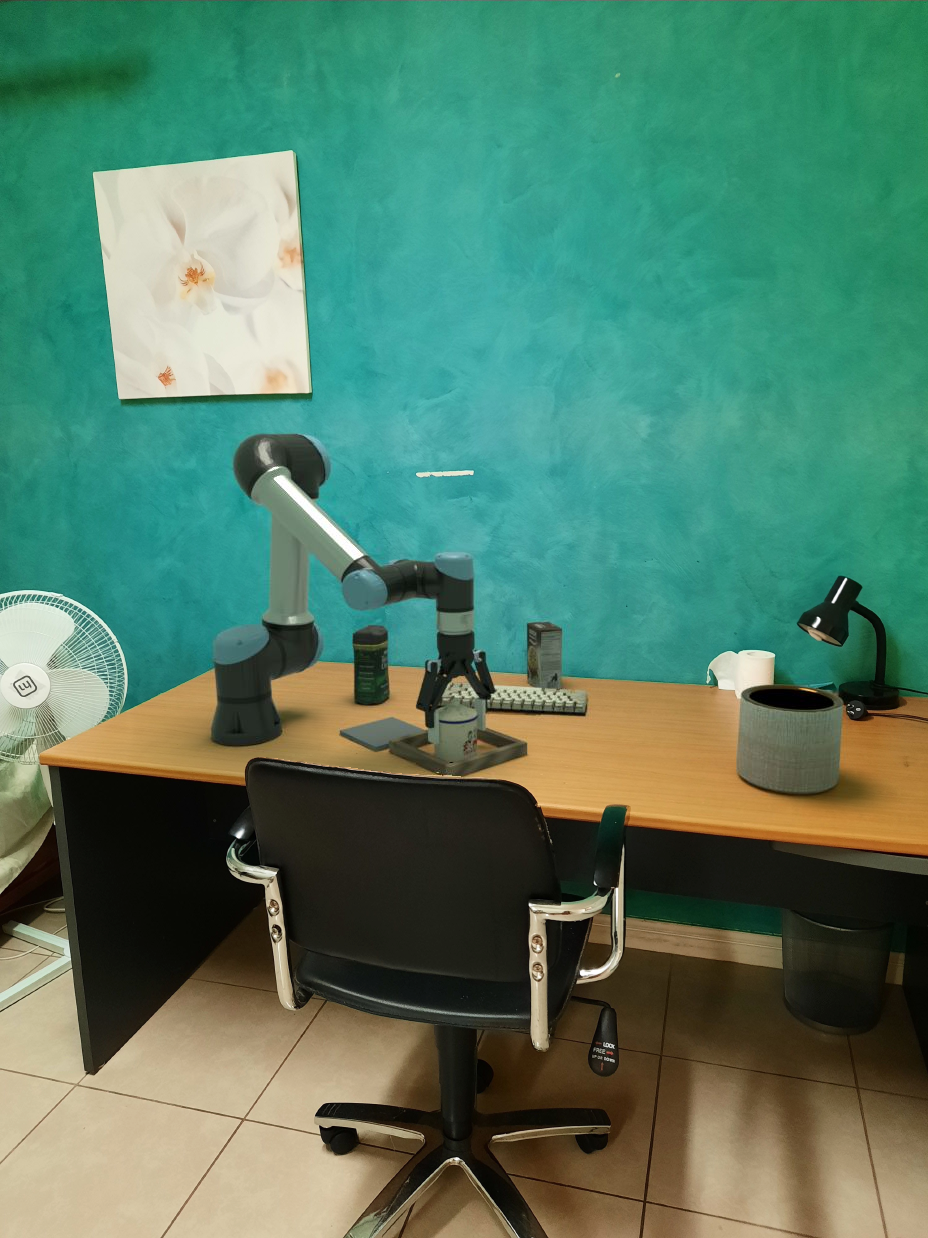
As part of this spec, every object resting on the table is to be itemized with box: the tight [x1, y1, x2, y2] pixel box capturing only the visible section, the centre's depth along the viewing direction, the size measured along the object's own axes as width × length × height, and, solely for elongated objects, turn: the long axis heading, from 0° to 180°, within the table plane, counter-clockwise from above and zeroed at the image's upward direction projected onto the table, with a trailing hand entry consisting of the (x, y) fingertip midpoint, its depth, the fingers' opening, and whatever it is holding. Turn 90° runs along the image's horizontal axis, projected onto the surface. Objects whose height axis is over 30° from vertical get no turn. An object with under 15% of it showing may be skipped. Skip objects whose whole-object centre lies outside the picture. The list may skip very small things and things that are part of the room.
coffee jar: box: [351, 624, 391, 705], centre depth 207 cm, size 10×8×19 cm
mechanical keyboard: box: [436, 681, 588, 717], centre depth 204 cm, size 38×19×3 cm, turn 80°
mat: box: [339, 716, 425, 752], centre depth 182 cm, size 14×14×1 cm
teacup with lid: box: [433, 699, 478, 762], centre depth 170 cm, size 12×9×12 cm
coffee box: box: [526, 621, 563, 692], centre depth 217 cm, size 9×6×16 cm
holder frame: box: [388, 727, 528, 777], centre depth 171 cm, size 20×20×2 cm
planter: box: [735, 684, 844, 795], centre depth 155 cm, size 18×18×16 cm
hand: (457, 735), depth 171 cm, fingers open, 11 cm apart
